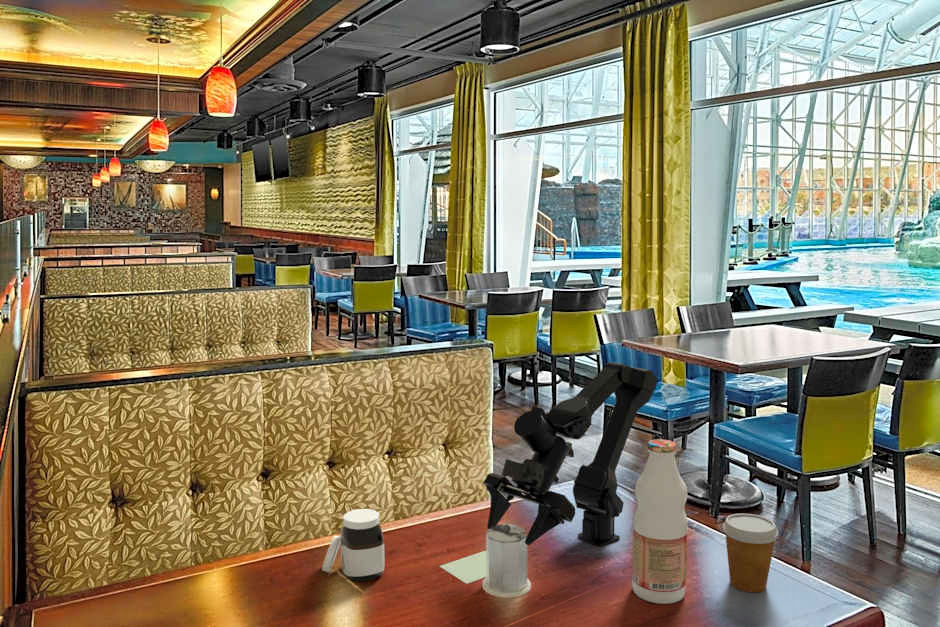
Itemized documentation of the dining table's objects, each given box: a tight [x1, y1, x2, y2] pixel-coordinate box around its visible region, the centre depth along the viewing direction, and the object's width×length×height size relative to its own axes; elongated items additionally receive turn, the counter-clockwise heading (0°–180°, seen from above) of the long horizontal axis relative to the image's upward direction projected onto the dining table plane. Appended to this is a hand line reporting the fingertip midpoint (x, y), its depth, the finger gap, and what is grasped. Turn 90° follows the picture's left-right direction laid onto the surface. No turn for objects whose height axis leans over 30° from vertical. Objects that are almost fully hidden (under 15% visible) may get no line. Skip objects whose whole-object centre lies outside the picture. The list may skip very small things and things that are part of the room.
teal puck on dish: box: [481, 577, 532, 599], centre depth 139 cm, size 9×9×3 cm
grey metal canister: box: [485, 523, 528, 593], centre depth 139 cm, size 7×7×11 cm
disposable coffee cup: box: [722, 513, 779, 593], centre depth 139 cm, size 10×10×12 cm
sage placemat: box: [439, 550, 529, 585], centre depth 148 cm, size 15×9×1 cm, turn 127°
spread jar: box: [321, 508, 386, 582], centre depth 145 cm, size 12×11×12 cm
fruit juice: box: [631, 438, 688, 605], centre depth 135 cm, size 9×9×28 cm
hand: (507, 536), depth 138 cm, fingers open, 9 cm apart
